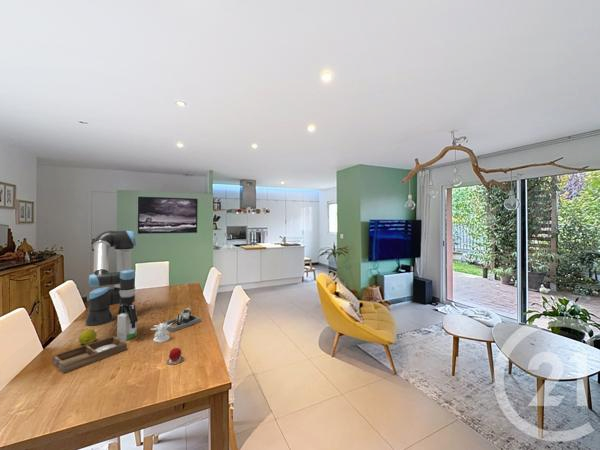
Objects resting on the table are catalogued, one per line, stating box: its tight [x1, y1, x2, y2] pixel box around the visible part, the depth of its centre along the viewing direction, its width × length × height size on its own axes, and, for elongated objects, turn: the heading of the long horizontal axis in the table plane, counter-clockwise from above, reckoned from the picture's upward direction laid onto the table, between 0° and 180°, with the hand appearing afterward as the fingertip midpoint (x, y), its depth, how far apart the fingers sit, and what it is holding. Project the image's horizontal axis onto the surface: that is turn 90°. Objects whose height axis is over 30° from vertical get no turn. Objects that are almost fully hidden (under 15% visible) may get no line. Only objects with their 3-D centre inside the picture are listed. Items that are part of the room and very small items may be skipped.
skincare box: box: [116, 311, 138, 342], centre depth 150 cm, size 8×7×16 cm
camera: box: [176, 307, 192, 327], centre depth 176 cm, size 16×9×10 cm, turn 19°
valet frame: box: [163, 314, 202, 333], centre depth 173 cm, size 14×21×2 cm, turn 148°
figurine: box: [150, 322, 172, 344], centre depth 150 cm, size 12×9×10 cm
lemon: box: [78, 328, 97, 346], centre depth 144 cm, size 11×8×8 cm
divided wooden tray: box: [51, 335, 128, 374], centre depth 129 cm, size 16×26×4 cm, turn 148°
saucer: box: [96, 344, 116, 352], centre depth 135 cm, size 10×10×2 cm
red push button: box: [165, 347, 185, 365], centre depth 128 cm, size 8×8×6 cm
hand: (127, 330), depth 150 cm, fingers open, 13 cm apart
